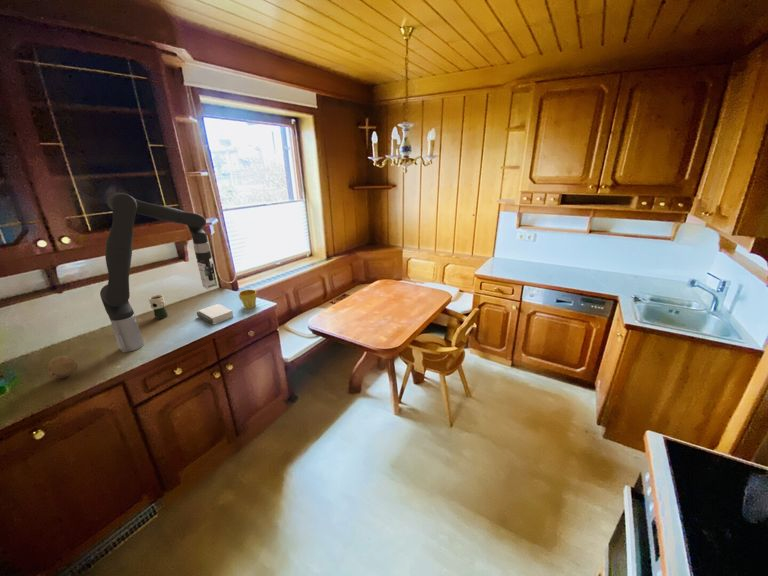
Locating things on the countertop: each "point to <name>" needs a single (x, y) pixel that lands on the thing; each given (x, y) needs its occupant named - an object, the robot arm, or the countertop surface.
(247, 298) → the plant pot
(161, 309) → the character mug
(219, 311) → the dock
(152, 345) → the countertop surface
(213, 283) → the syrup box
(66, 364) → the natural sponge
